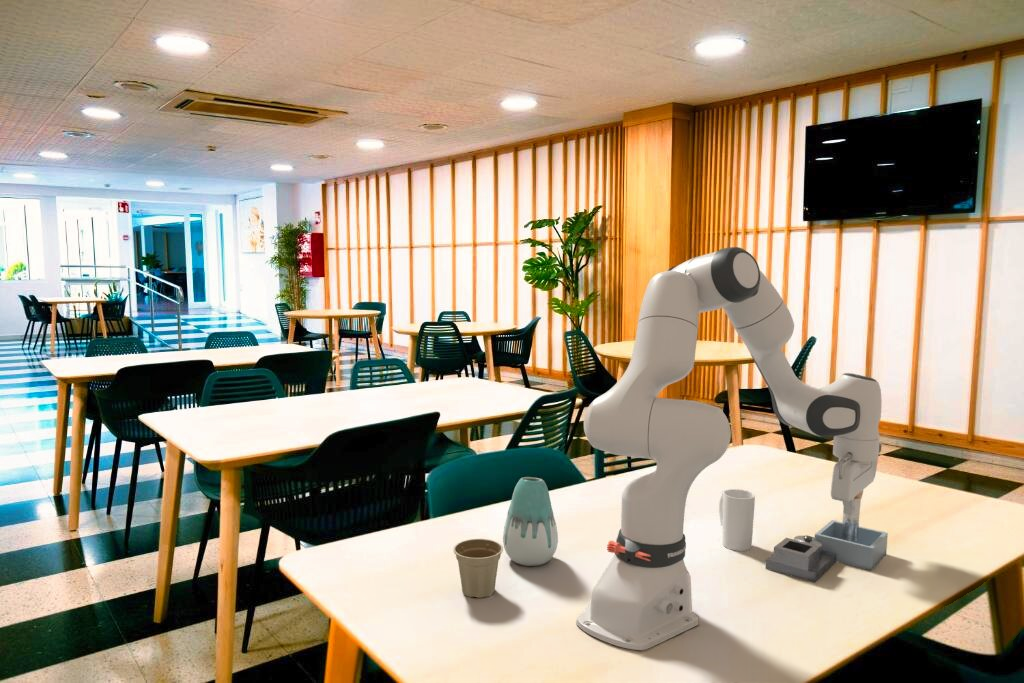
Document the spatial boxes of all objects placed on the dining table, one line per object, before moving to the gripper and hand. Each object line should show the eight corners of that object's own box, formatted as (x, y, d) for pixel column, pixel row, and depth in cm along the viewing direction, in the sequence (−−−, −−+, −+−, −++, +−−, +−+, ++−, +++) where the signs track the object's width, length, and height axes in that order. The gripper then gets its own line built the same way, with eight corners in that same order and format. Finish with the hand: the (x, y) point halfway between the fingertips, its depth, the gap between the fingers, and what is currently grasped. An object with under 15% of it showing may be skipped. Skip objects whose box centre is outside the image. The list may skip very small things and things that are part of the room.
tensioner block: (815, 582, 141) (816, 557, 140) (765, 568, 147) (766, 544, 147) (835, 562, 151) (837, 539, 150) (788, 550, 157) (789, 527, 157)
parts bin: (871, 570, 147) (873, 548, 146) (813, 555, 154) (814, 534, 154) (886, 554, 155) (887, 532, 155) (830, 540, 163) (832, 520, 162)
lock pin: (855, 542, 153) (858, 493, 151) (839, 538, 155) (842, 489, 153) (859, 538, 155) (862, 489, 154) (843, 534, 157) (847, 486, 156)
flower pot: (484, 607, 130) (484, 562, 129) (443, 594, 135) (443, 550, 134) (512, 588, 138) (512, 545, 137) (472, 576, 142) (472, 535, 142)
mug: (759, 549, 157) (761, 496, 156) (734, 553, 155) (736, 500, 154) (730, 533, 167) (732, 483, 166) (706, 536, 165) (708, 486, 163)
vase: (529, 544, 159) (530, 466, 157) (568, 560, 151) (570, 478, 149) (491, 559, 151) (492, 477, 149) (530, 576, 143) (531, 490, 141)
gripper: (857, 461, 143) (853, 527, 144) (883, 442, 158) (879, 502, 160) (824, 455, 147) (820, 520, 148) (853, 437, 162) (850, 496, 164)
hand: (851, 511), depth 154 cm, fingers closed on lock pin, 3 cm apart
